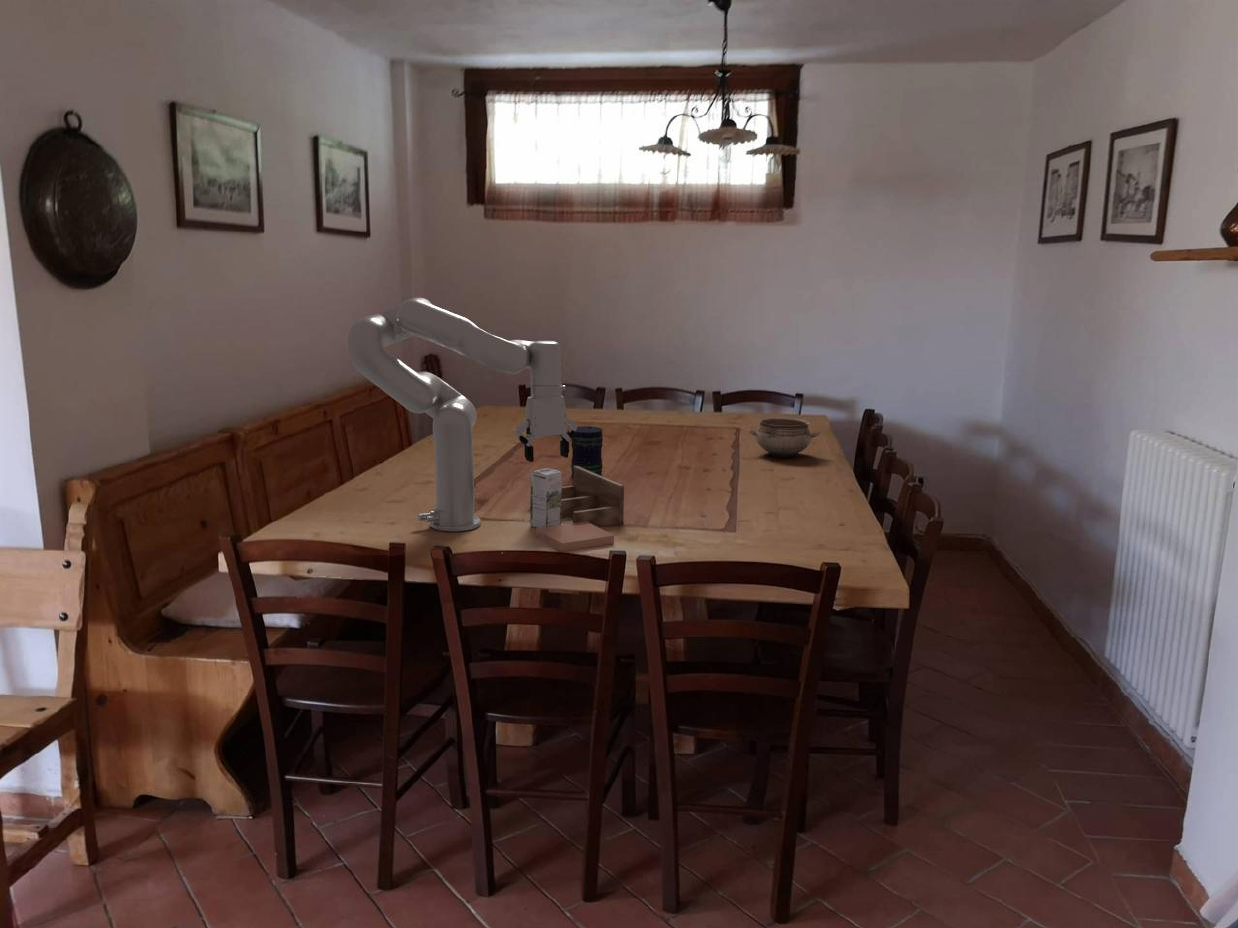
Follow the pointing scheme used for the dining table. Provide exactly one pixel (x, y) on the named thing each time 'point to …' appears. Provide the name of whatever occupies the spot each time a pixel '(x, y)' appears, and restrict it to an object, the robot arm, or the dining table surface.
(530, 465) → the dining table surface
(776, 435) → the cooking pot
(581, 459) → the storage jar
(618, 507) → the walnut rack
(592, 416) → the dining table surface
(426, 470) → the dining table surface
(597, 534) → the terracotta tile
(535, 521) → the syrup box
